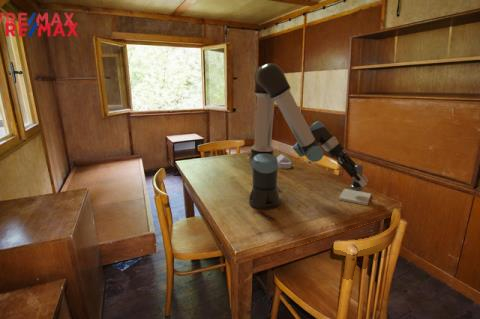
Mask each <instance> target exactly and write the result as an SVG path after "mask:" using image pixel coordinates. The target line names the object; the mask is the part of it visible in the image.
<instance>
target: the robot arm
mask: <svg viewBox="0 0 480 319" xmlns="http://www.w3.org/2000/svg"><path fill="white" fill-rule="evenodd" d="M253 77H254V78H253V79H254V95H255V96H256V97H257V98H256V100H257V101H256V115H255V130H254V142H253V143H254V144H253V145H252V146H251V147H250V155H249V166H250V169H251V171H252V189H251V192H250V194H249V196H248V197H249V198H248V203H249V205H250V206H251V207H252V208H254V209H257V210H258V209H259V210H273V209H276V208H278V207H279V206H280V205H281V197H280V194H279V191H278V168H279V167H278V161H277V156H275V155H274V151H275V150H274V147H273V146H272V137H273V126H274V115H275V114H274V112H275V105H277V107H278V109H279V111H280V113H281V114H282V116H283V118H284V120H285V122H286V123H287V125H288V127H289V129H290V130H291V132H292V134H293V135H294V138H295V139H296V141H297V142H296V143H294V144H293V146H292V149H293V151H294V152H295V153H296V154H297V156H298V157H299V158H303V157H304V156H305V157H306V159H307V160H308V161H310V162H313V163H316V162H317V163H318V162H319V161H321V160H322V159H323V157H324V151H325V152H327V153H328V155H329V157H331V158H332V159H333V158H336V159H337V162H336V163H337V164H338V165H340V166H341V167H342V169H343V170H344V171H345V172H346V173H347V174H348V175H349V176H350V178H352V179H353V177H354V178H355V179H356V181H357V182H358V183H359V184H360V185H361V186H362V187H363V186H364V187H365V186H366V185H368V183H367V182H369V180H368V178H367V177H366V175H364V174H362V177H361V176H360V175H359V174H358V173H356V171H355V170H354V165H356V164H357V163H355V161H354V160H353V159H352V158H351V157H350V155H349V153H347V152H344V150H345V147H344V146H343V145H342V144H341V143H339V141H338V139H337V137H336V136H334V135H333V134H332V133H331V131H329V129H328V128H327V127H326V125H324V124H323V123H322V122H321V121H320V120H317V121H315V122H314V123H312V124H311V125H310V126H309V124H308V123H307V121H306V120H305V117H304V114H302V112H301V109H300V108H299V105H298V104H297V102H296V100H295V98H294V96H293V95H292V93H291V86H290V84H289V82H288V79H287V77H286V76H285V73H284V71H283V69H282V68H281V67H280V66H279V65H278V64H276V63H272V62H271V63H266V64H262V65H261V66H259V67H258V68H257V69H256V70H255V73H254V76H253ZM319 145H321V146H319Z"/></svg>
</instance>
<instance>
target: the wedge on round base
mask: <svg viewBox="0 0 480 319" xmlns="http://www.w3.org/2000/svg"><path fill="white" fill-rule="evenodd" d="M276 158H277V162H278V167H277V168H279V169H283V170H284V169H286V170H287V169H290V168H292V161H291V160H290V159H289V158H288V157H286V156H285V155H284V154H279V155H278V156H276Z"/></svg>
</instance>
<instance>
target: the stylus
mask: <svg viewBox="0 0 480 319" xmlns="http://www.w3.org/2000/svg"><path fill="white" fill-rule="evenodd" d="M355 164H356V165H354V170H355V171H356V173H358V174H359V175H360V176H361V177H362V174H363V173H364V172H363V171H364V164H357V163H355ZM363 175H364V174H363ZM364 187H365V186H363V187H362V186H361V185H360V184H359V183H358V182H357V181H356V179H355V178H354V177H352V183H350V184H349V190H354V191H360V192H363V191H364Z"/></svg>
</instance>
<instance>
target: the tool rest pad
mask: <svg viewBox="0 0 480 319" xmlns="http://www.w3.org/2000/svg"><path fill="white" fill-rule="evenodd" d="M371 196H372V193H370V192H364V191H354V190H351V189H350V188H344V189H343V190H342V192H341V193H340V195H339V198H338V200H340V201H344V202H349V203H353V204H359V205H363V206H368V204H369V202H370V198H371Z"/></svg>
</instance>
